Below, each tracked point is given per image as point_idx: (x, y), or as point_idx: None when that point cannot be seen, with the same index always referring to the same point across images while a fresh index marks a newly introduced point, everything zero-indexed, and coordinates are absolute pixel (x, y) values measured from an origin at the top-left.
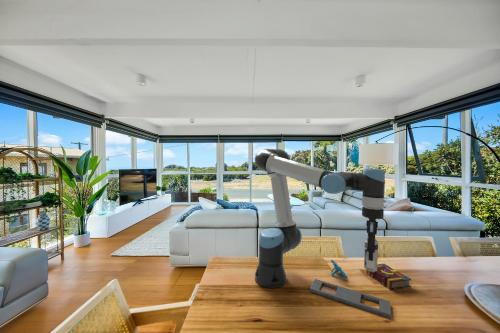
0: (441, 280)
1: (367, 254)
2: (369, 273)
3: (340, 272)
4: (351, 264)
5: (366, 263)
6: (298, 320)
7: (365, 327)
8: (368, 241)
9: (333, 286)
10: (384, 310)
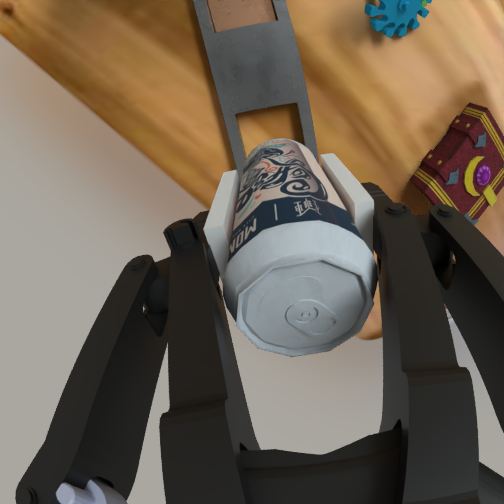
0: None
1: (211, 216)
2: (466, 113)
3: (366, 9)
4: (492, 55)
5: (220, 181)
6: (51, 43)
7: (151, 157)
8: (91, 346)
9: (274, 7)
10: None
